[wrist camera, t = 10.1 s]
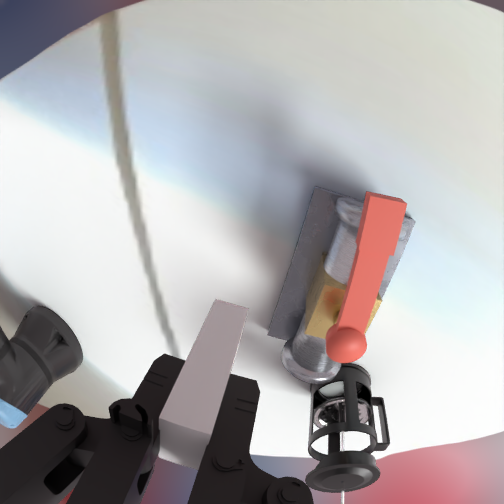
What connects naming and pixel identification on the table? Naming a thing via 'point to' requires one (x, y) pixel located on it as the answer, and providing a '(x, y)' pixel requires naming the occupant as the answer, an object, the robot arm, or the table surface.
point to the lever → (365, 275)
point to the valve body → (323, 283)
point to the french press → (342, 420)
